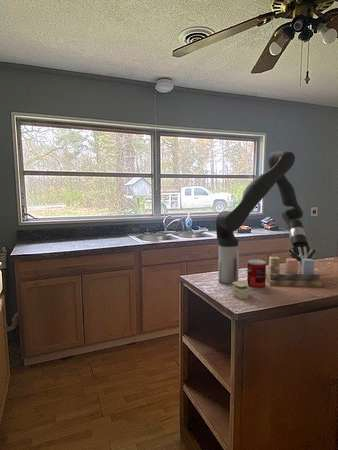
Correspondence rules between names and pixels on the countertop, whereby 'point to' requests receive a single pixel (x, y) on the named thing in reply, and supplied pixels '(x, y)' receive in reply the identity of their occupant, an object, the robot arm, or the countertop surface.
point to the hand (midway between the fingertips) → (305, 267)
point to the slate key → (307, 266)
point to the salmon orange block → (291, 266)
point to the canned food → (256, 273)
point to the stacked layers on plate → (240, 289)
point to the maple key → (274, 265)
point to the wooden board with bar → (294, 279)
